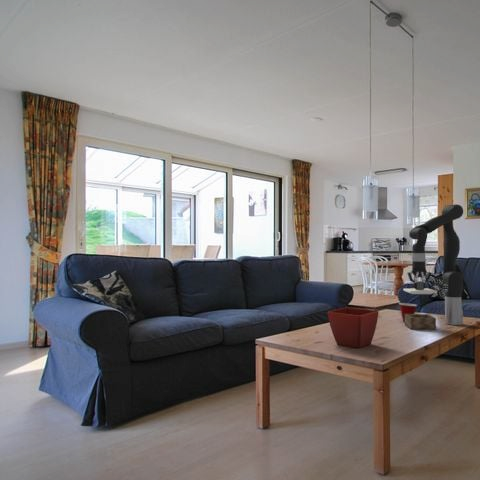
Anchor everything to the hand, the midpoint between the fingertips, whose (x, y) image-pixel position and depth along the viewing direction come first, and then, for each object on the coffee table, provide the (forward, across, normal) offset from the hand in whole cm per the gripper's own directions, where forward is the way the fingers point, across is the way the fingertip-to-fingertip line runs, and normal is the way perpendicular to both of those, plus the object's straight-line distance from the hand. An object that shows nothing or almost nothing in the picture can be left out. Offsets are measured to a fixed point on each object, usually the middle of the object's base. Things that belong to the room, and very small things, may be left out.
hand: (419, 288), depth 252 cm
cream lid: (+2, 0, 0) cm, 2 cm away
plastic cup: (+24, +2, -18) cm, 30 cm away
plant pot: (+23, +46, +47) cm, 70 cm away
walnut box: (+23, 0, 0) cm, 23 cm away
